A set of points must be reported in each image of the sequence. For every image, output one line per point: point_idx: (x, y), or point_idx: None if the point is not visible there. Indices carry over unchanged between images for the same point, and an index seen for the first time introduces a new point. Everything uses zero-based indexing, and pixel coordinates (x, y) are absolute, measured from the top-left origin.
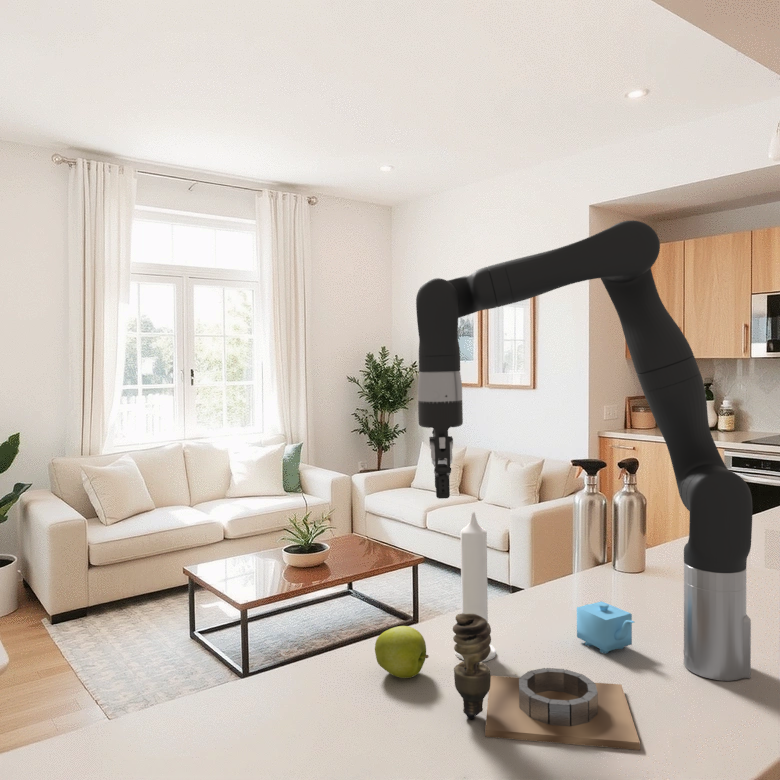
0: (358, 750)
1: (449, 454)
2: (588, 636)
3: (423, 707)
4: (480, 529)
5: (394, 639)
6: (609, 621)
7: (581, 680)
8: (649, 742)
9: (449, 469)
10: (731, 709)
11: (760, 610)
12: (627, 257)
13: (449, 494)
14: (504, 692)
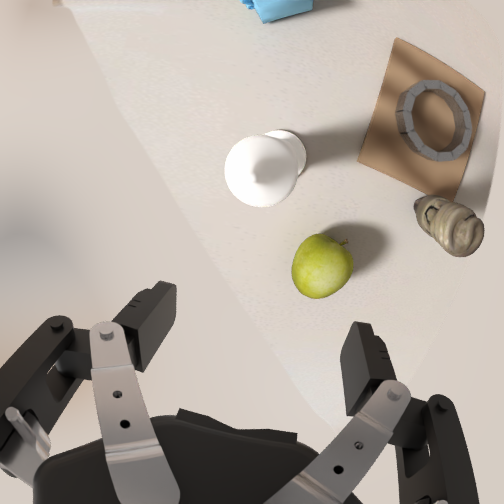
0: (428, 306)
1: (468, 465)
2: (282, 14)
3: (389, 246)
4: (281, 157)
5: (339, 286)
6: None
7: (431, 88)
8: (473, 77)
9: (453, 411)
10: None
11: None
12: None
13: (371, 328)
14: (398, 161)
